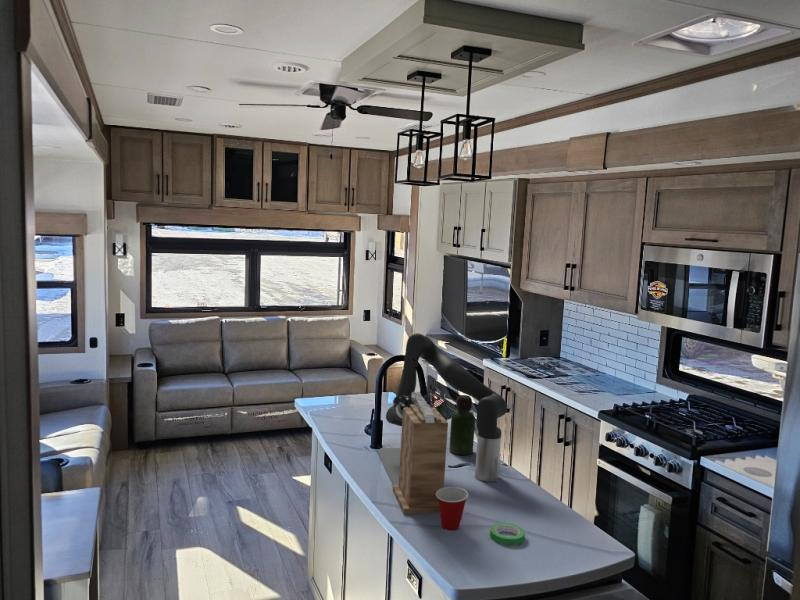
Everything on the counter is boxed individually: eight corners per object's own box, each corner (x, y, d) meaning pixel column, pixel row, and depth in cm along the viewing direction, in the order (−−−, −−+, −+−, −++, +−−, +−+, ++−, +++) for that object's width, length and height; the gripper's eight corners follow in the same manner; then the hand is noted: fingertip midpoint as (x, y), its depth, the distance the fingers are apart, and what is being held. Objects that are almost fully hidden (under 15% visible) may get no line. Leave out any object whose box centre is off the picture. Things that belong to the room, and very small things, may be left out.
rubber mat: (375, 449, 289) (376, 448, 289) (407, 448, 292) (407, 447, 292) (394, 489, 248) (394, 487, 248) (430, 488, 251) (430, 486, 251)
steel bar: (411, 399, 253) (411, 392, 253) (419, 400, 254) (419, 392, 253) (425, 422, 226) (425, 414, 225) (433, 423, 226) (434, 414, 226)
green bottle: (466, 446, 298) (470, 393, 295) (476, 455, 289) (480, 399, 286) (445, 448, 295) (449, 393, 292) (454, 456, 285) (458, 400, 282)
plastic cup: (427, 521, 223) (430, 487, 221) (456, 517, 227) (458, 484, 226) (442, 536, 213) (444, 501, 211) (471, 532, 217) (474, 497, 216)
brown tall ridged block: (392, 490, 247) (397, 403, 243) (433, 489, 250) (439, 403, 246) (403, 514, 227) (409, 420, 223) (448, 512, 231) (454, 420, 227)
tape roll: (501, 548, 208) (502, 540, 208) (483, 532, 218) (484, 525, 218) (531, 543, 212) (531, 535, 212) (512, 528, 222) (512, 520, 222)
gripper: (388, 398, 264) (396, 387, 249) (423, 398, 266) (433, 387, 252) (389, 417, 261) (397, 407, 246) (424, 416, 264) (434, 407, 249)
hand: (415, 397), depth 249 cm, fingers open, 8 cm apart
